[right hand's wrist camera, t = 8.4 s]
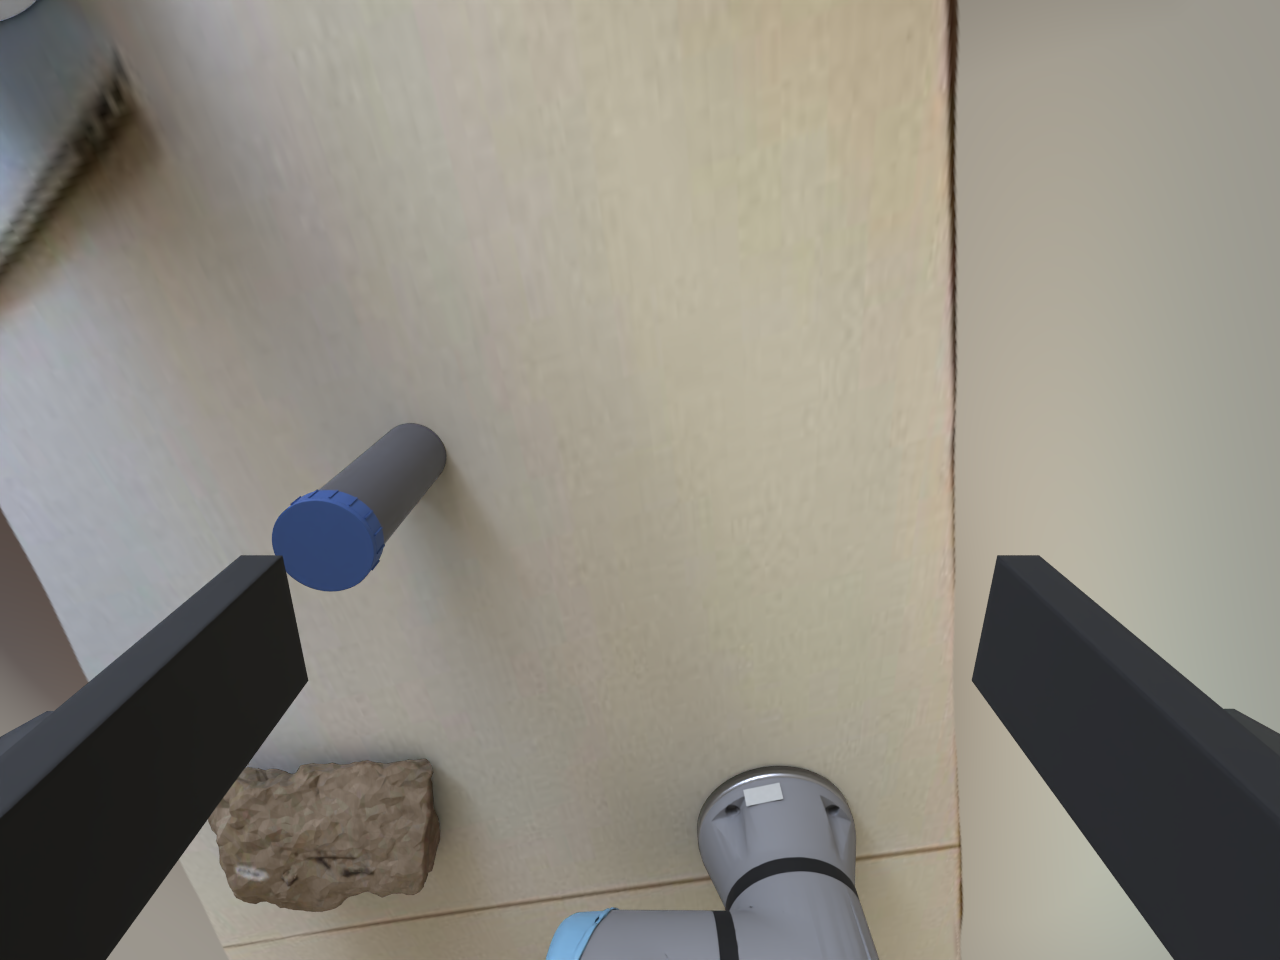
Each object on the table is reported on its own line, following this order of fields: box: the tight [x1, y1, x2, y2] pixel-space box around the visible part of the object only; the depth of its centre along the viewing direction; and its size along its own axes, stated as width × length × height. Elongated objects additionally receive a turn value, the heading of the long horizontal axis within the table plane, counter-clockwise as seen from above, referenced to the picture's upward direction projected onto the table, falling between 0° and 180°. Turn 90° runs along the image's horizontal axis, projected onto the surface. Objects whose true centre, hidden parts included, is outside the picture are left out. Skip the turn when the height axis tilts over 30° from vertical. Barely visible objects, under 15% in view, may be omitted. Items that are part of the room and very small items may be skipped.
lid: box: [272, 490, 385, 591], centre depth 40 cm, size 6×6×2 cm
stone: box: [208, 759, 440, 912], centre depth 65 cm, size 21×15×6 cm
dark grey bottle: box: [319, 423, 446, 544], centre depth 47 cm, size 5×5×16 cm
